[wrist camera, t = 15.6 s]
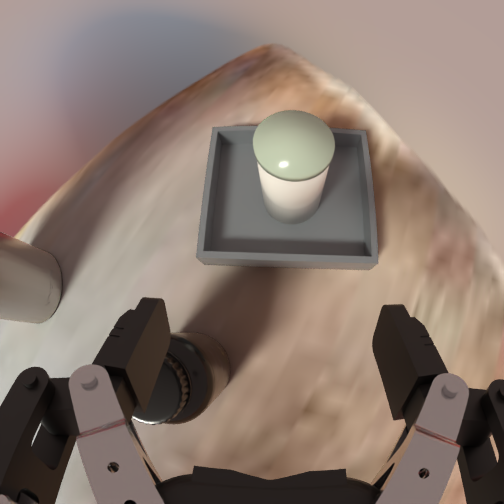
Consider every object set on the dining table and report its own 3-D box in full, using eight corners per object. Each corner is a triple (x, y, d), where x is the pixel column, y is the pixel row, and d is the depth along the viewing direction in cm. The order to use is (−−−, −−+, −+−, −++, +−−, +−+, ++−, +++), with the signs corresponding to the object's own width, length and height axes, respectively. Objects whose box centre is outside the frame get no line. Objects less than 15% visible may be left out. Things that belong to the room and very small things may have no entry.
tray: (204, 264, 30) (196, 257, 27) (218, 142, 33) (212, 127, 30) (369, 270, 28) (378, 263, 25) (360, 146, 32) (365, 130, 29)
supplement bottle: (185, 411, 26) (129, 452, 15) (152, 351, 28) (80, 358, 17) (245, 382, 27) (220, 416, 15) (210, 319, 29) (163, 311, 17)
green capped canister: (260, 224, 30) (250, 175, 20) (263, 171, 31) (255, 109, 22) (320, 226, 29) (337, 178, 20) (320, 173, 31) (332, 112, 21)
